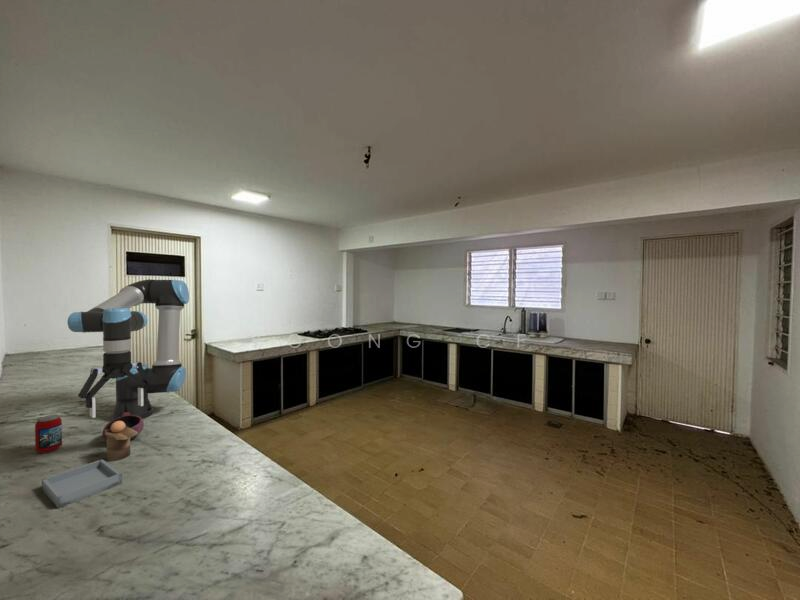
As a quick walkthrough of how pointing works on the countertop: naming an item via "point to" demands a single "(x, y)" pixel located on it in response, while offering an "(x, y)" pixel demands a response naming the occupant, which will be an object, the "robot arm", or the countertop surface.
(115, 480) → the tray
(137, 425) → the bowl
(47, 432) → the beverage can
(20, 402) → the countertop surface
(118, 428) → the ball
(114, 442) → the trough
